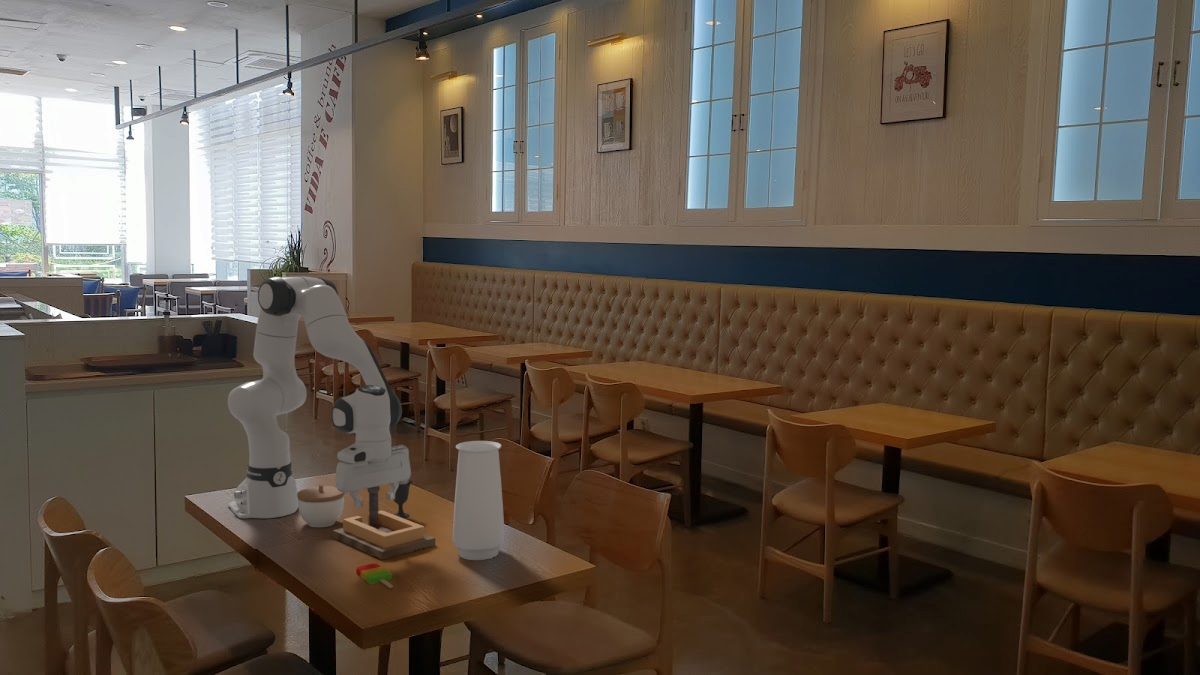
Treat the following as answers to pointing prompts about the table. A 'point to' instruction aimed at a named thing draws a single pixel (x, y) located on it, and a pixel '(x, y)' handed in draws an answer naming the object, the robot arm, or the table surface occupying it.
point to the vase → (478, 501)
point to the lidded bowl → (320, 505)
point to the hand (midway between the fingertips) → (375, 503)
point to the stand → (374, 522)
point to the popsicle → (374, 574)
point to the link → (403, 532)
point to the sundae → (402, 497)
